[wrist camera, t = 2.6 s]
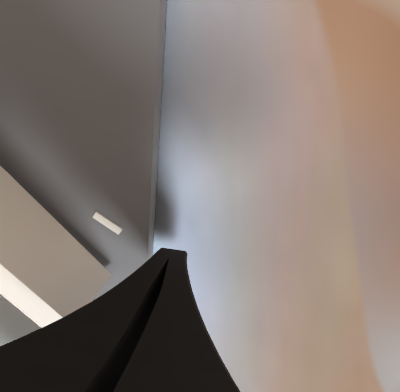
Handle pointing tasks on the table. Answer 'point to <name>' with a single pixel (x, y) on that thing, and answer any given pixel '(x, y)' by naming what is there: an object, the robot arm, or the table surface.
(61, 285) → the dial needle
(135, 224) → the dial base
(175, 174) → the table surface
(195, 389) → the robot arm
